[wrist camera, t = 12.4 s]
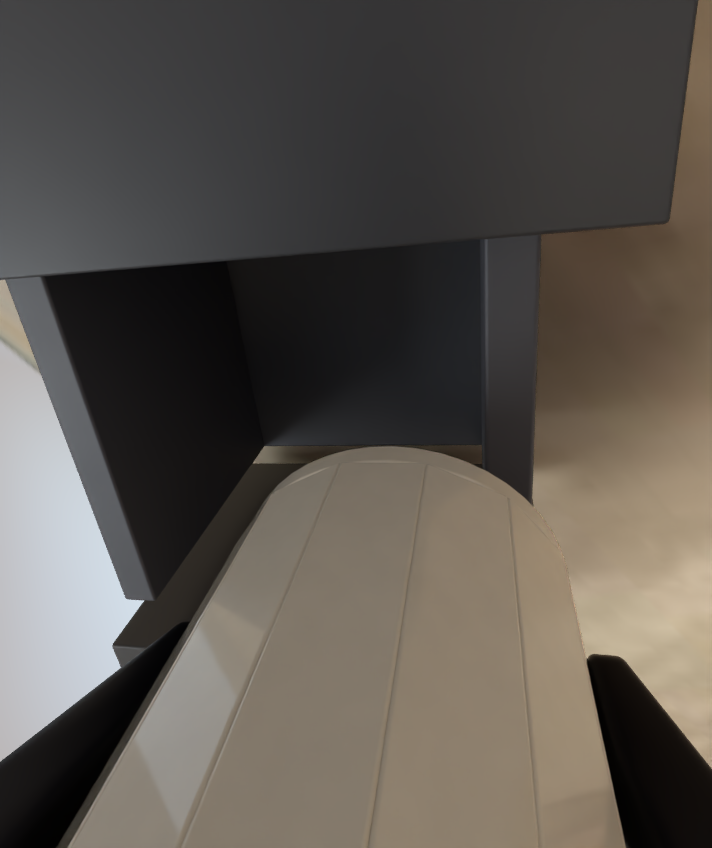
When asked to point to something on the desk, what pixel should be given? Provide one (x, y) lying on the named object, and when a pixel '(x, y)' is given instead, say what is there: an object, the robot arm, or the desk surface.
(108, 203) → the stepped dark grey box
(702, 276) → the desk surface
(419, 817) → the container
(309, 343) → the drawer
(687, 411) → the desk surface
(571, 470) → the desk surface
